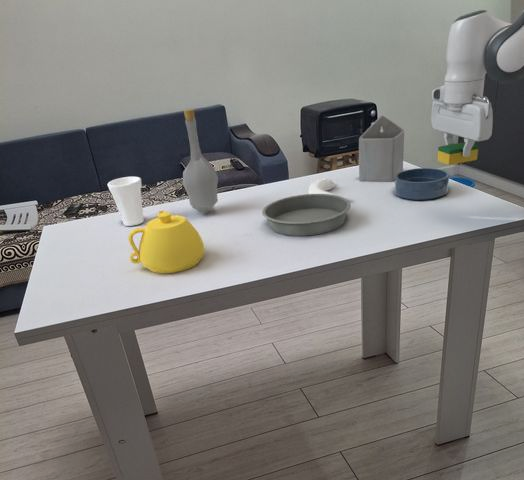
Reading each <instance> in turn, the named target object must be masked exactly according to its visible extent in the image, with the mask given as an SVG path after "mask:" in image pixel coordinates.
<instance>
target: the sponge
mask: <svg viewBox="0 0 524 480" xmlns="http://www.w3.org/2000/svg"><path fill="white" fill-rule="evenodd" d="M465 143H466V142H464V141H462V142H457V143H454V144H451V145H446V144H445V145H440V146H438V147H437V162H438V163H441V164H444V165H446V166H453V165H458V164H462V163H467V162H473V161H477V160H478V155H479V144H477V143H474V145H473V147H472V148H471V154H470V156H468V157H463V156H461V149H463V148H464V145H465Z"/></svg>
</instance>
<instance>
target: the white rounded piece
mask: <svg viewBox="0 0 524 480" xmlns="http://www.w3.org/2000/svg"><path fill="white" fill-rule="evenodd" d="M335 186H336V184H335V182H334V181H333V180H332V179H329V178H321V179H317V180H315V181H313V182H312V183H310V185H309V186H308V193H307V194H330V195H335V194H334V193H333V192H329V191H330V190H333V189H334V188H335ZM344 198H345V199H347V198H346V197H344Z"/></svg>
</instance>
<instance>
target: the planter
mask: <svg viewBox="0 0 524 480" xmlns="http://www.w3.org/2000/svg"><path fill="white" fill-rule="evenodd" d="M381 130H382V131H381ZM404 148H405V130H404V129H403V128H402V127H401V126H399V125H398V124H396V122H393V121H392V120H390V119H389V118H387V117H386V116H385V115H380V116H378V118H377V119H376V120H375V121H374V122H373V123H372V124H371V125H370V126H369V127H368V128H367V129H366V130H365V131H364V132H363V133H362V135H360V136H359V138H358V181H359V182H375V183H377V182H379V183H393V182H395V176H396V175H397V174H398V173H400V172H402V171H404V152H405V151H404Z"/></svg>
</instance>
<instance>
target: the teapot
mask: <svg viewBox="0 0 524 480" xmlns="http://www.w3.org/2000/svg"><path fill="white" fill-rule="evenodd" d="M139 233H142V234H141V236H140V239H139V245H138V248H137V246H136V244H135V241H134V236H135V235H137V234H139ZM127 239H128V243H129V245H130V247H131V249H132V250H133V252H132V253H131V254H130V255H129V260H130V263H132V264H140V263H141V265H142V266H144V267H145V268H146V269H147V270H149V271H150V272H153V273H156V274H173V273H174V274H175V273H179V272H183V271H186V270H189V269H192V268H194V267H195V266H196V265H198V264H199V262H200V261H201V260H202V258H203V257H204V254H205V251H206V249H205V245H204V242H203V238H202V237H201V235H200V234H199V231H198V230H197V229H196V228H195V227H194V226H193V224H192V223H191V222H190V221H189V220H188V219H187V218H186V217H185V216H182V215H177V214H175V215H173V214H172V212H169V211H165V210H159V211H158V214H157V217H155V218H152V219H151V220H149V221H148V222H147V223H146V225H145V227H136V228H134V229H132V230H131V231H129V234H128V238H127ZM134 257H136V258H134Z"/></svg>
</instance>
